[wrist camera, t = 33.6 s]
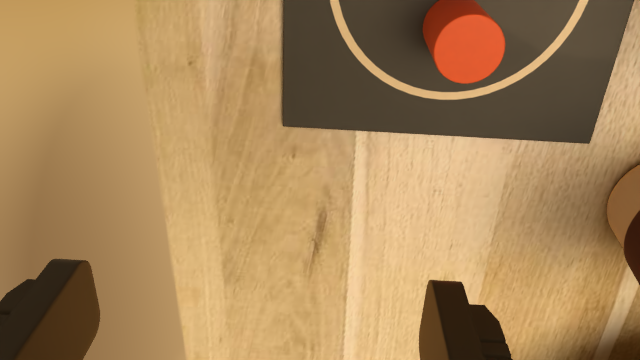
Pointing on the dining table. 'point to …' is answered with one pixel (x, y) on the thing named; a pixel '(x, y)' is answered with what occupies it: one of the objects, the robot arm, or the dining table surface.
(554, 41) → the slate board
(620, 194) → the coffee cup
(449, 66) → the red orange cylinder
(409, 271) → the dining table surface
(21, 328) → the robot arm
